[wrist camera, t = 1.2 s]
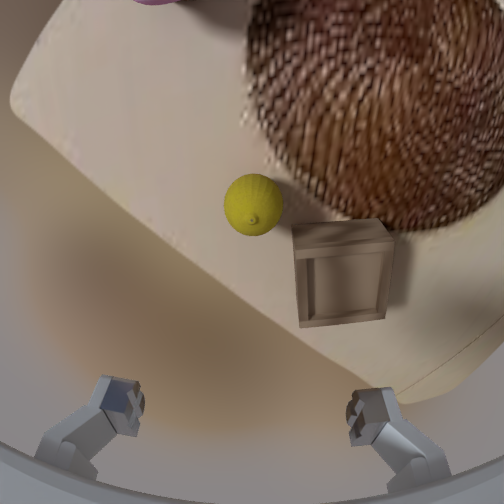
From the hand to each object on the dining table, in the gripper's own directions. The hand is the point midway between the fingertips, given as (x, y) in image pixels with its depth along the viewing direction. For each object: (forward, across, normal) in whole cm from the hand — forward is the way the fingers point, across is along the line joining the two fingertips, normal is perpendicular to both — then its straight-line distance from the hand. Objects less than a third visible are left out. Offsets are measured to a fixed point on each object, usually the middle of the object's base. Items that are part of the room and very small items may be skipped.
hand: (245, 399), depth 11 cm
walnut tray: (+25, -10, +8) cm, 28 cm away
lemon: (+25, 0, 0) cm, 25 cm away
